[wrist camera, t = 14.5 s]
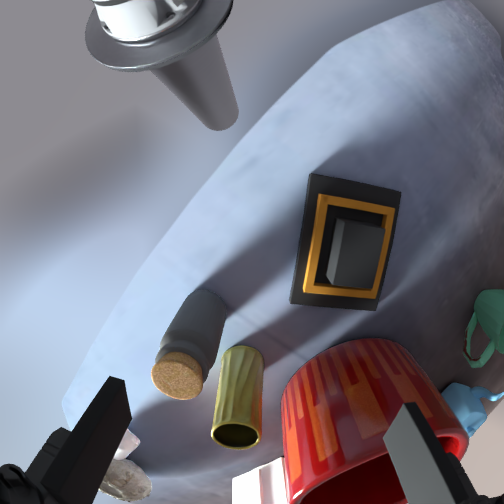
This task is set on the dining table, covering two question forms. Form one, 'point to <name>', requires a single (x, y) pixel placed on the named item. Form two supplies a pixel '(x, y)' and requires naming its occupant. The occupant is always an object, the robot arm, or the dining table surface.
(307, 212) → the base
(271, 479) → the white stepped block
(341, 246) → the black rectangular block
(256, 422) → the vase
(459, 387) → the teapot
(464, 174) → the dining table surface
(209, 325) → the bottle
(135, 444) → the roll
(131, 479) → the decorative shell
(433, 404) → the planter
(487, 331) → the mug
